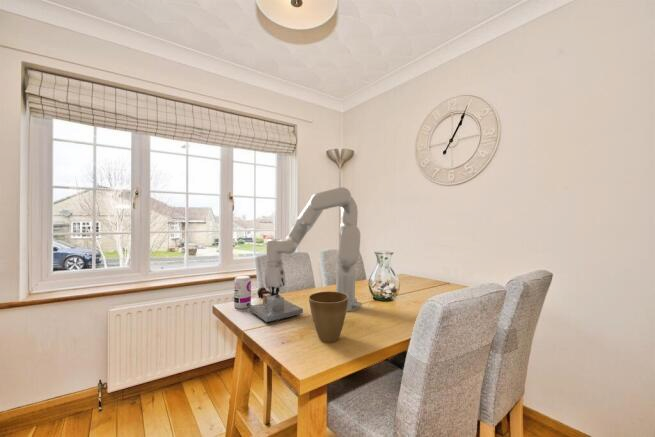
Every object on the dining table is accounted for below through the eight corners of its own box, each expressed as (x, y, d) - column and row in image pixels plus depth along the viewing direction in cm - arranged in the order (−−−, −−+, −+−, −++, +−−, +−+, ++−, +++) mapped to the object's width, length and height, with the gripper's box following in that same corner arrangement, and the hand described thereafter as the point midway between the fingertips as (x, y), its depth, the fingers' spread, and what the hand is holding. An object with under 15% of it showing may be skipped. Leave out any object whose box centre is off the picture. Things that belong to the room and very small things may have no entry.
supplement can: (253, 304, 147) (253, 275, 146) (247, 309, 138) (247, 279, 138) (238, 303, 147) (238, 275, 147) (231, 309, 139) (231, 278, 139)
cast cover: (277, 304, 136) (278, 294, 136) (284, 308, 131) (284, 297, 131) (266, 307, 132) (266, 296, 132) (272, 310, 127) (272, 299, 127)
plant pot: (333, 327, 117) (333, 289, 117) (355, 341, 104) (356, 298, 104) (301, 335, 109) (301, 294, 109) (321, 351, 96) (321, 304, 96)
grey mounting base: (281, 304, 146) (281, 291, 146) (302, 315, 130) (302, 300, 130) (248, 310, 136) (248, 297, 136) (266, 324, 119) (266, 308, 119)
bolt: (277, 305, 152) (259, 298, 161) (283, 298, 155) (266, 292, 165) (273, 297, 149) (255, 291, 159) (279, 290, 153) (262, 285, 162)
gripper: (290, 263, 139) (291, 300, 139) (268, 261, 147) (269, 296, 147) (280, 266, 133) (281, 305, 133) (258, 263, 141) (258, 300, 141)
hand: (275, 300), depth 140 cm, fingers closed
